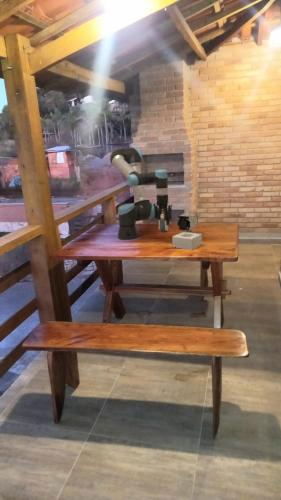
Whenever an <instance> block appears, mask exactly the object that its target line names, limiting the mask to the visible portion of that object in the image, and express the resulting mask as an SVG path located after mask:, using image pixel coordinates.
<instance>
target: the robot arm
mask: <svg viewBox="0 0 281 500" xmlns="http://www.w3.org/2000/svg"><path fill="white" fill-rule="evenodd" d="M109 161H110V164H111V166H113V168H115V169H117V170H118V171H119V172H120V173H122V174H123V176H124V177H126V182H127V185H128V186H129V187H131V188H132V191H133V196H134V203H125V204H122V205H120V206H119V207H118V208H117V209H118V211H117V215H118V225H119V227H118V231H117V239H119V240H123V241H124V240H125V241H126V240H134V239H137V238H139V237H140V234H139V232H138V231H139V230H138V229H137V226H136V225H137V223H136V222H139V221H140V222H141V221H145V220H146V221H147V220H152V218H155V219H156V220H157V224H158V230H160V214H162V212H163V213H164V214H165V218H166V220H165V230H167V231H168V230H169V225H170V220H172V218H173V217H172V211H173V210H172V209H173V204H170V203H169V184H168V183H169V182H168V171H167V169H156V170H155V171H152V170H151V171H148V172H143V173H141V168H140V166H141V165H142V162H143V153H142V151H141V150H140V148H138V147H136V146H135V147H133V146H131V147H125V148H116V149H114V150H113V151H112V152H111V154H110V158H109ZM154 184H155V190H156V193H155V194H156V202H155V203H153V202H151V201H150V199H149V198H147V193H146V188H145V186H147V185H154Z"/></svg>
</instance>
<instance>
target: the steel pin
mask: <svg viewBox="0 0 281 500" xmlns="http://www.w3.org/2000/svg"><path fill="white" fill-rule="evenodd" d="M165 220H166V218H165V214H164V212H163V213H161V214H160V229H159V230H160V233H163V234H164V233H167V232H168V230H165Z"/></svg>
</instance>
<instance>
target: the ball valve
mask: <svg viewBox="0 0 281 500" xmlns="http://www.w3.org/2000/svg"><path fill="white" fill-rule="evenodd" d="M198 218H199V216H198V215H197V212H195V211H194V212H193V211H186V212H184V213H182V214H181V215H178V221H177V226H178V230H179V231H184V232H189V233H196V231H194V230H193V229H194V228H195V227H197V225H198V224H199V219H198Z"/></svg>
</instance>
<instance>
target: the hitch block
mask: <svg viewBox="0 0 281 500" xmlns="http://www.w3.org/2000/svg"><path fill="white" fill-rule="evenodd" d="M171 237H172V238H171V239H172V248H175V247H176V249H181V248H182V249H183V250H189V251H193V250H194V249H196V248H197V249H198V247H200V246H202V245H203V235H202V233H196V232H195V233H189V232H185V231H182V232H179V233H177V234H175V235H173V236H171Z"/></svg>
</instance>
